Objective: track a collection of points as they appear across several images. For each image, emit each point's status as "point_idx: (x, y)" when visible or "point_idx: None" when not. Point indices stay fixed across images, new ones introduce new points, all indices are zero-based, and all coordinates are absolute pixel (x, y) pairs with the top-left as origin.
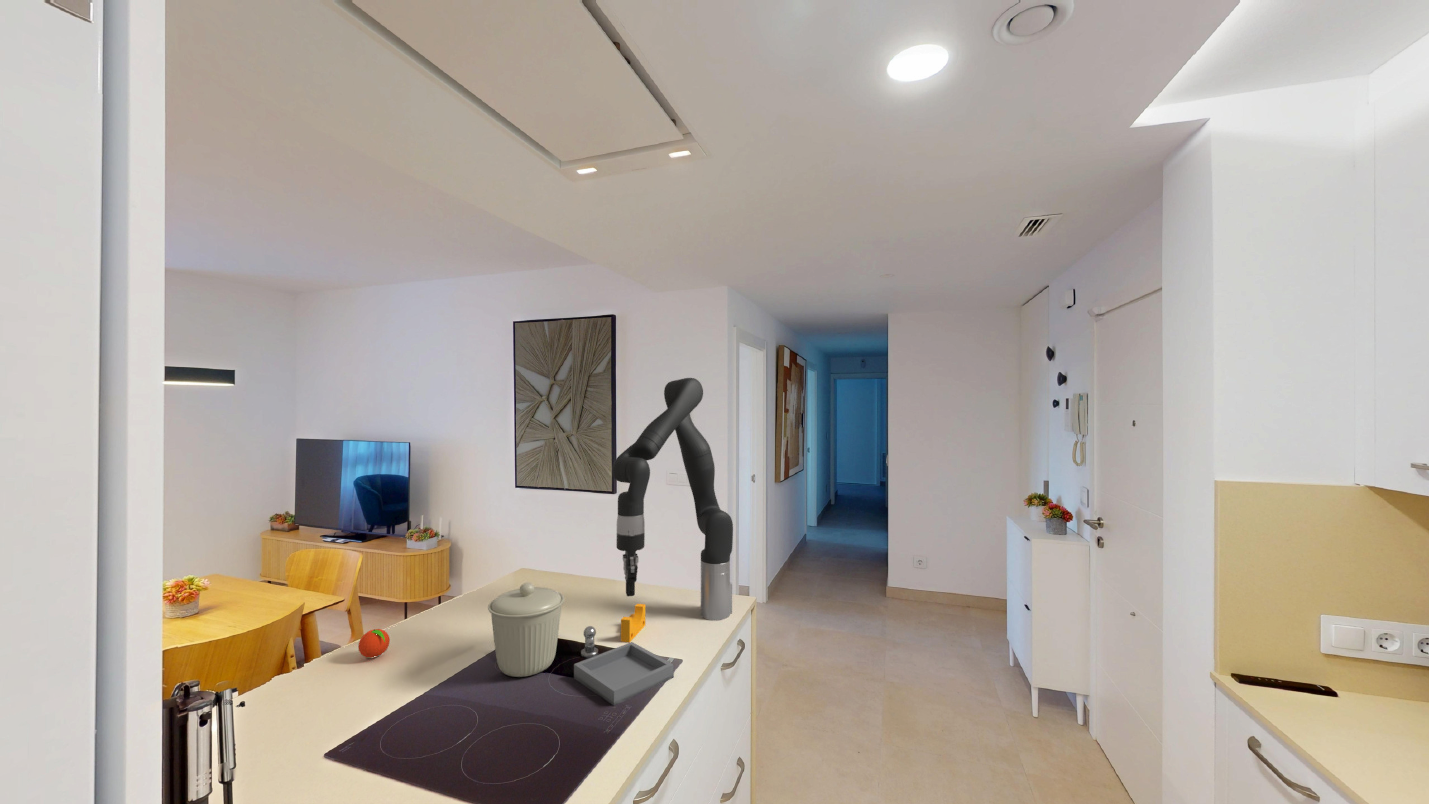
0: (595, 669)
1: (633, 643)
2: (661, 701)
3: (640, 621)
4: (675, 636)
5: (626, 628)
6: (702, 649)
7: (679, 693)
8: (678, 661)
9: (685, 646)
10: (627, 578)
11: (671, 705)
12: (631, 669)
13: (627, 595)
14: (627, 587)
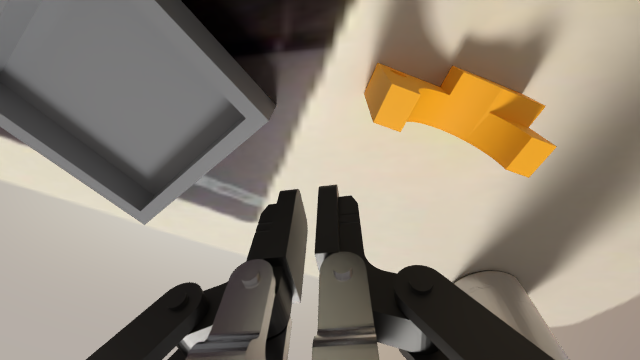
0: None
1: (257, 126)
2: (64, 178)
3: (461, 138)
4: (382, 214)
5: (374, 97)
6: None
7: (108, 210)
8: (244, 214)
9: None
10: (113, 338)
11: (58, 195)
12: (161, 114)
13: (280, 195)
14: (270, 233)
